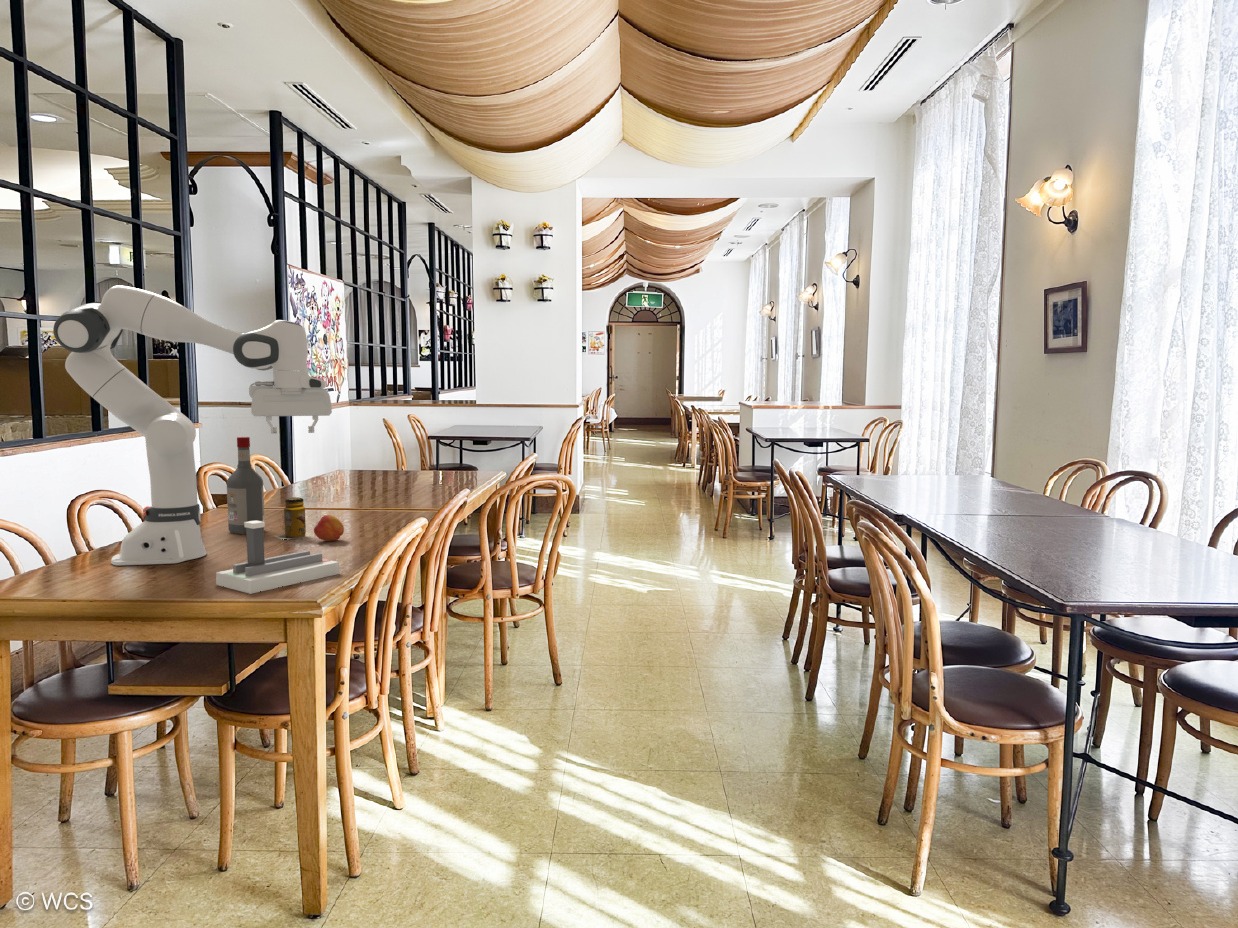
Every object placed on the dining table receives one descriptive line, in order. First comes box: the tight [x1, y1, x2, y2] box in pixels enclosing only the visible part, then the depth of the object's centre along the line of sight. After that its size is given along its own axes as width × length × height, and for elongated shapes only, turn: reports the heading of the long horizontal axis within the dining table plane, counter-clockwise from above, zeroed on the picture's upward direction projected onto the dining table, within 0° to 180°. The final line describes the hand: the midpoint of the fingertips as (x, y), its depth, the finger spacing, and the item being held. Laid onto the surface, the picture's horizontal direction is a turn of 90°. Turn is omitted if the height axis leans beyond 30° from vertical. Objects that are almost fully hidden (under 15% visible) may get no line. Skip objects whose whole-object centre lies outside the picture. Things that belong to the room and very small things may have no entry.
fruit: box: [313, 514, 345, 542], centre depth 249 cm, size 8×8×8 cm
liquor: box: [226, 436, 266, 535], centre depth 262 cm, size 9×9×30 cm
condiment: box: [274, 496, 311, 541], centre depth 255 cm, size 7×8×12 cm
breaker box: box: [215, 550, 340, 595], centre depth 202 cm, size 24×14×5 cm, turn 146°
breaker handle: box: [244, 520, 266, 567], centre depth 196 cm, size 3×4×12 cm
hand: (292, 433), depth 223 cm, fingers open, 8 cm apart
